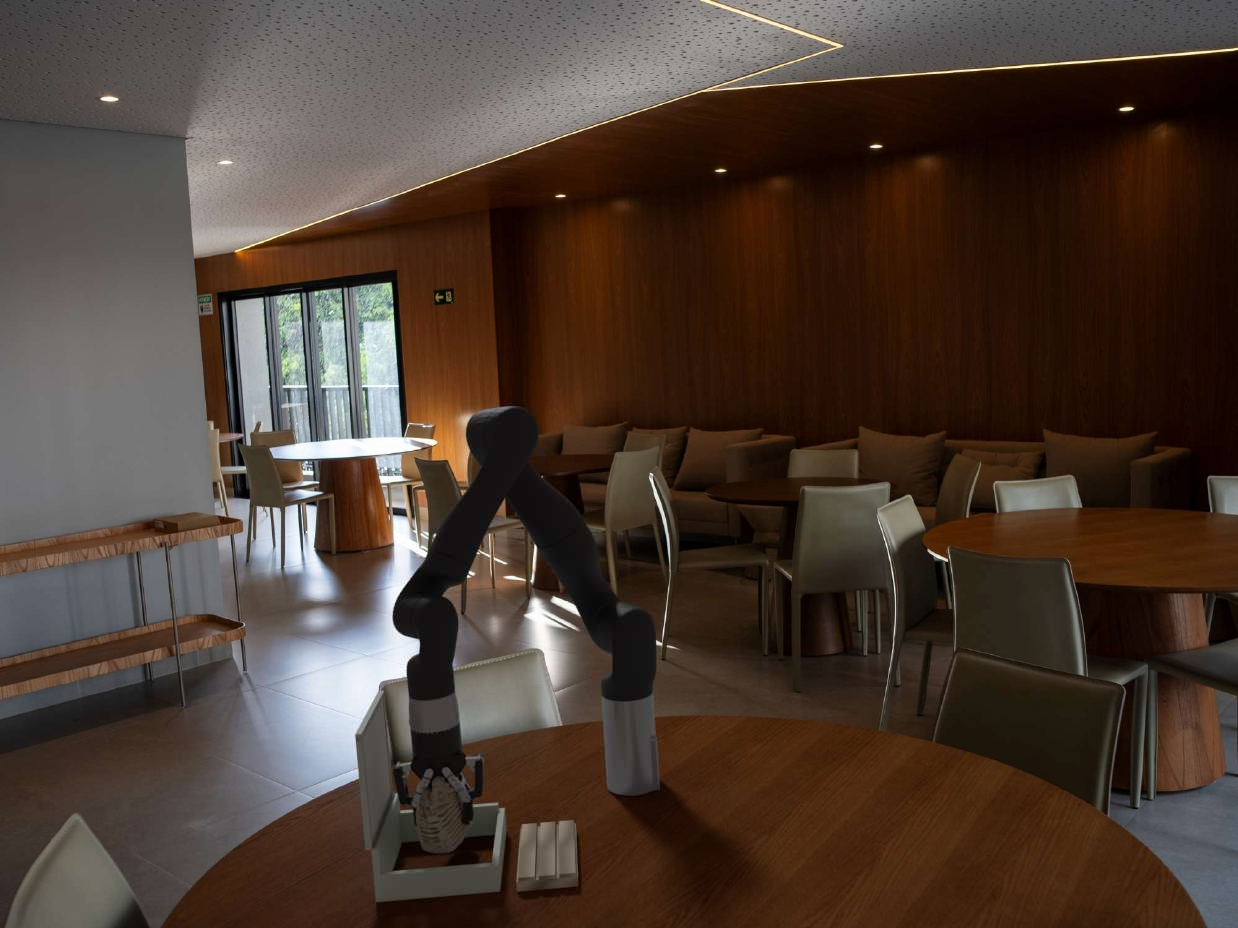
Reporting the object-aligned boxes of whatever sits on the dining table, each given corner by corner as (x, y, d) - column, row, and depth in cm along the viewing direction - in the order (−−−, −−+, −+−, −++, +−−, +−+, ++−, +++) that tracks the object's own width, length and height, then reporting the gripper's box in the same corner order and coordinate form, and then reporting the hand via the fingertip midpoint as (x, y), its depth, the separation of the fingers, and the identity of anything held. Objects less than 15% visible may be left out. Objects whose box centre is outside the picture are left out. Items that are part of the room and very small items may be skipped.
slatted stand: (576, 831, 164) (575, 819, 164) (578, 886, 147) (577, 872, 147) (521, 836, 163) (520, 824, 163) (517, 891, 146) (516, 877, 146)
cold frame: (506, 830, 166) (495, 681, 163) (500, 891, 147) (487, 723, 144) (391, 840, 165) (378, 690, 162) (370, 902, 146) (355, 734, 143)
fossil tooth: (482, 827, 162) (445, 867, 147) (445, 823, 163) (406, 862, 149) (483, 757, 162) (446, 790, 147) (446, 754, 163) (407, 786, 148)
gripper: (483, 708, 157) (492, 809, 159) (391, 716, 157) (401, 818, 159) (480, 725, 150) (489, 831, 152) (383, 734, 149) (394, 841, 151)
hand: (444, 824), depth 155 cm, fingers closed on fossil tooth, 6 cm apart
